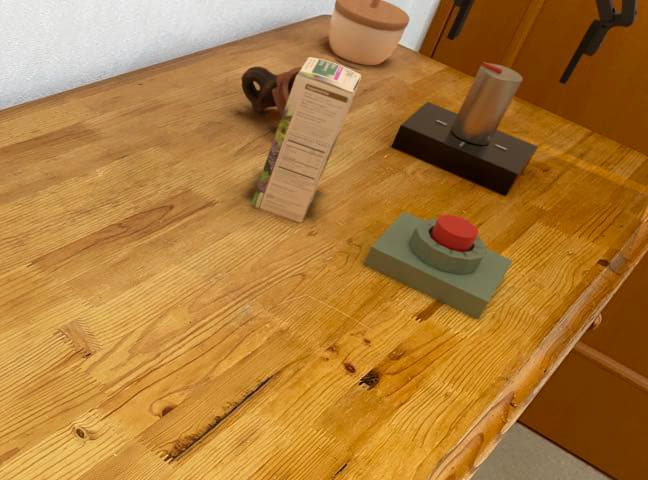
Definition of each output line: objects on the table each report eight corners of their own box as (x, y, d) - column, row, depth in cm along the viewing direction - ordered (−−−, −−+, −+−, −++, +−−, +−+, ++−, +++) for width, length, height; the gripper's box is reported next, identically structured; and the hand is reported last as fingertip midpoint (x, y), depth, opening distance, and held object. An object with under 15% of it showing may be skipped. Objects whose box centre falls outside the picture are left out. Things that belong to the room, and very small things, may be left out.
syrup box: (261, 185, 93) (305, 53, 83) (313, 202, 92) (363, 71, 82) (249, 207, 89) (294, 71, 79) (303, 226, 88) (355, 90, 78)
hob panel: (526, 167, 109) (538, 145, 107) (505, 196, 102) (518, 172, 100) (417, 122, 114) (427, 100, 112) (390, 147, 106) (401, 123, 104)
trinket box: (387, 58, 130) (413, -5, 124) (389, 84, 122) (416, 17, 116) (319, 40, 131) (341, -24, 124) (316, 64, 123) (340, -3, 116)
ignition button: (474, 242, 84) (483, 227, 83) (463, 257, 81) (472, 242, 80) (436, 225, 85) (444, 210, 84) (425, 240, 83) (432, 224, 81)
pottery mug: (318, 120, 110) (353, 81, 102) (297, 176, 106) (331, 140, 99) (237, 74, 108) (267, 31, 100) (213, 130, 104) (242, 90, 97)
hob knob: (494, 137, 107) (528, 72, 101) (484, 149, 103) (518, 82, 98) (457, 121, 108) (488, 57, 102) (445, 133, 105) (477, 66, 99)
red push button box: (502, 278, 87) (522, 245, 85) (477, 320, 81) (497, 286, 78) (395, 228, 91) (410, 195, 88) (362, 265, 84) (378, 230, 82)
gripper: (485, -187, 86) (398, 26, 100) (741, -110, 78) (607, 108, 93) (503, -189, 91) (418, 13, 105) (745, -117, 83) (618, 90, 98)
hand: (506, 58), depth 99 cm, fingers open, 13 cm apart
